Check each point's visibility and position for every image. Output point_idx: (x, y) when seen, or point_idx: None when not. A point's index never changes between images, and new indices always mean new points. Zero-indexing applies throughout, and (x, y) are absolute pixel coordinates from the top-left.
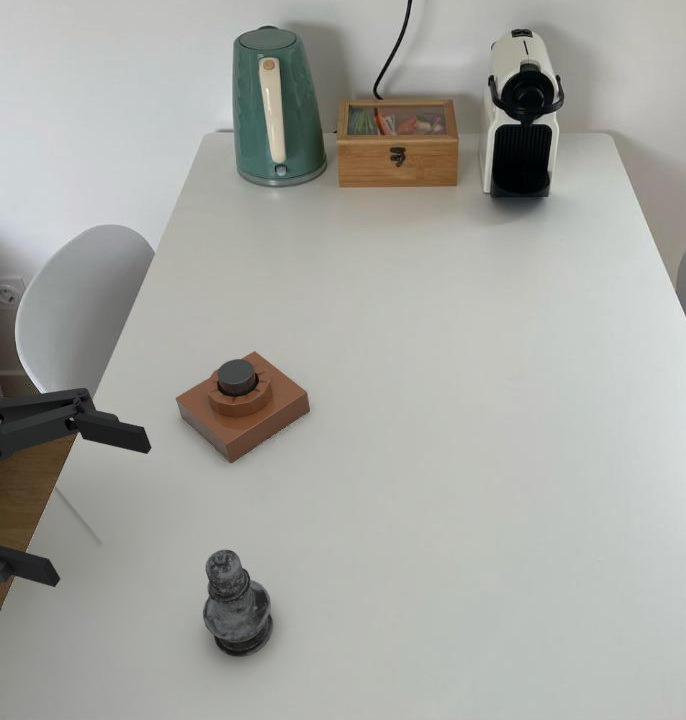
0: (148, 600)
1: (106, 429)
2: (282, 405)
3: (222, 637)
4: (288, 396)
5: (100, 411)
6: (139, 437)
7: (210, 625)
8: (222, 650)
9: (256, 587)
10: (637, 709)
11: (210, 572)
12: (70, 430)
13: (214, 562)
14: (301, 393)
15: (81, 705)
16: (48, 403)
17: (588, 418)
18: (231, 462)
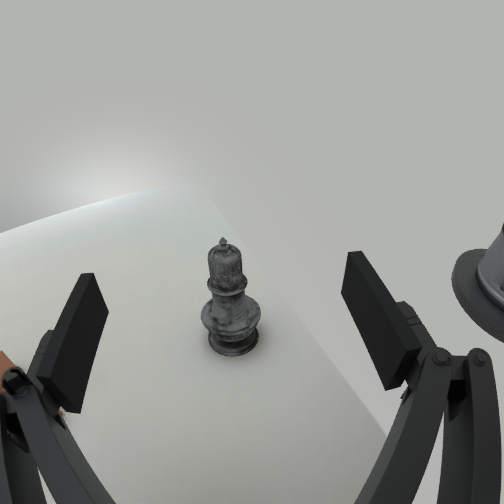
0: (238, 420)
1: (76, 327)
2: (10, 364)
3: (259, 309)
4: (2, 362)
5: (32, 360)
6: (95, 283)
7: (254, 320)
8: (257, 339)
9: (207, 307)
10: (211, 203)
11: (237, 253)
12: (65, 429)
13: (228, 249)
14: (1, 353)
15: (356, 405)
16: (7, 458)
17: (55, 239)
18: (62, 413)
